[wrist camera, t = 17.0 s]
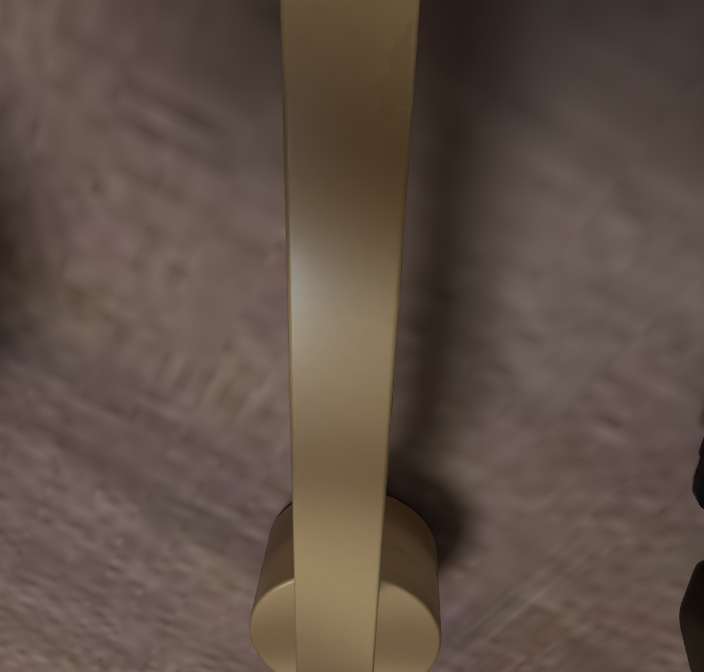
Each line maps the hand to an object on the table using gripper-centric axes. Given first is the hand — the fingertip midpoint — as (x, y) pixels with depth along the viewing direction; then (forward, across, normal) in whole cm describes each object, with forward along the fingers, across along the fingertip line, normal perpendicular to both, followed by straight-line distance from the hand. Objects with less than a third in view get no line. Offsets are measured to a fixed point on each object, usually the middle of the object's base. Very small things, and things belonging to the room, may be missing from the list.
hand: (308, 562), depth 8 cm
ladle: (+9, 0, +2) cm, 9 cm away
